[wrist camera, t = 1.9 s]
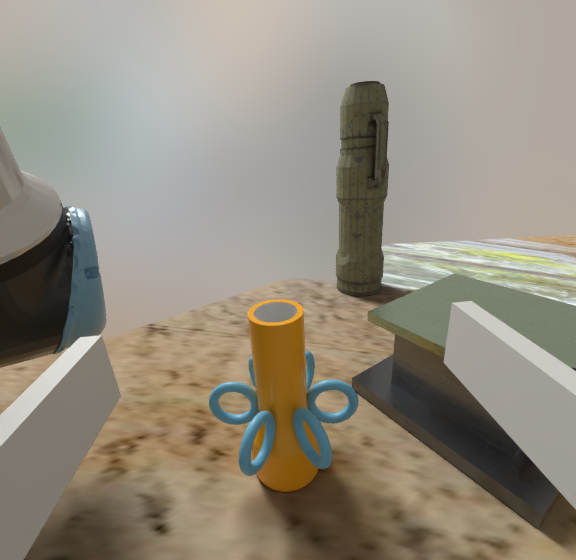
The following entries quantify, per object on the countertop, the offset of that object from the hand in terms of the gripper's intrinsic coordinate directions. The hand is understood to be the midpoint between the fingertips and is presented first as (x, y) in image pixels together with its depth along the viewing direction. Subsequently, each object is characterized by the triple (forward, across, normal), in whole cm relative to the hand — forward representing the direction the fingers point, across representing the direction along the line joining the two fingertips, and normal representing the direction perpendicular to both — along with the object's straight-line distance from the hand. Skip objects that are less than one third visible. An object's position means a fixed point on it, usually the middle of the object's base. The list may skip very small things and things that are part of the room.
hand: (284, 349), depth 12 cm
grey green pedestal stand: (+15, +20, -18) cm, 31 cm away
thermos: (+46, +17, -18) cm, 53 cm away
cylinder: (+10, 0, -19) cm, 21 cm away
